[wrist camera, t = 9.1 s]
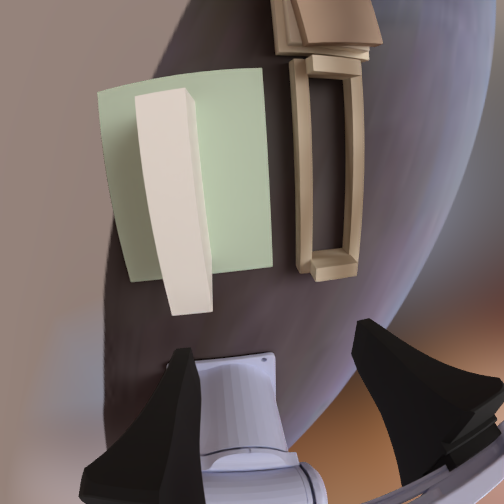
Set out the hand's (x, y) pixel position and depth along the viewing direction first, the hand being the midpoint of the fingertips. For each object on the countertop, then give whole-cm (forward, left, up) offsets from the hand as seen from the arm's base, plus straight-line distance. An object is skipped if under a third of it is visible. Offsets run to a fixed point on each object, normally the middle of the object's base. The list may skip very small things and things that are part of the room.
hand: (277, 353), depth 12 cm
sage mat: (-4, +6, -9) cm, 12 cm away
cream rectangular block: (-4, +6, -9) cm, 11 cm away
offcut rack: (+5, +9, -9) cm, 14 cm away
